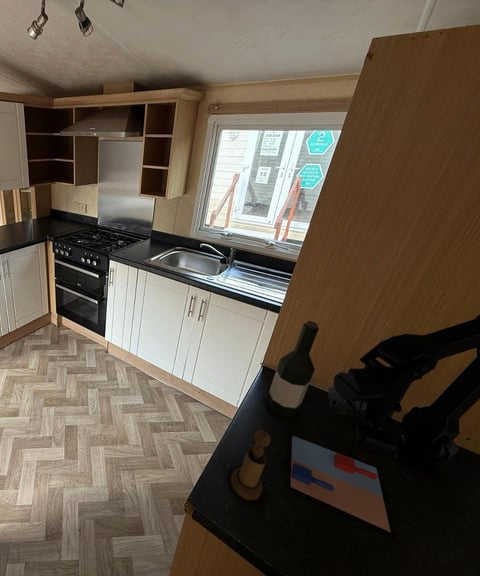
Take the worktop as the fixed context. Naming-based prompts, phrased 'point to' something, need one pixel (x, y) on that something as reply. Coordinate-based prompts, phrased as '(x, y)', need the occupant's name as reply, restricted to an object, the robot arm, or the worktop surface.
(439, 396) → the robot arm
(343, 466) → the red spoon
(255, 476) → the mortar and pestle
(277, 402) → the wine bottle
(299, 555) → the worktop surface
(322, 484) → the blue spoon
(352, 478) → the sorting board
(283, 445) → the worktop surface
